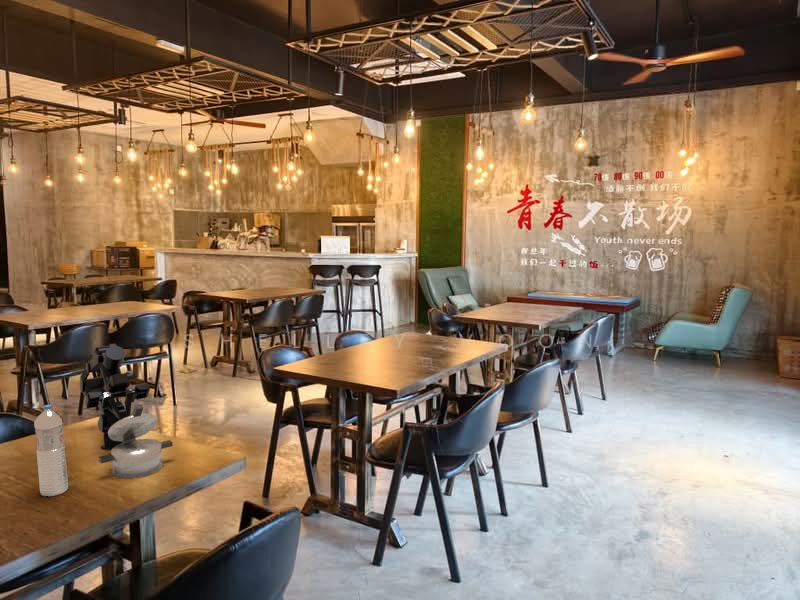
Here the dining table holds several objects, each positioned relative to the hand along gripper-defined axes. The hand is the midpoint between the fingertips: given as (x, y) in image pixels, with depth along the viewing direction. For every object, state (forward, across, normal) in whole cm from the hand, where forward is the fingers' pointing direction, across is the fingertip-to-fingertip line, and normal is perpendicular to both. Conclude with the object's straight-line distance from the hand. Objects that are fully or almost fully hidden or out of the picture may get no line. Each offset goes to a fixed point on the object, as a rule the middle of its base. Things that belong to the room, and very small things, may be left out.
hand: (124, 417), depth 183 cm
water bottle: (+19, -23, +1) cm, 29 cm away
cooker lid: (+8, 0, -8) cm, 11 cm away
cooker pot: (+18, 0, +2) cm, 18 cm away
